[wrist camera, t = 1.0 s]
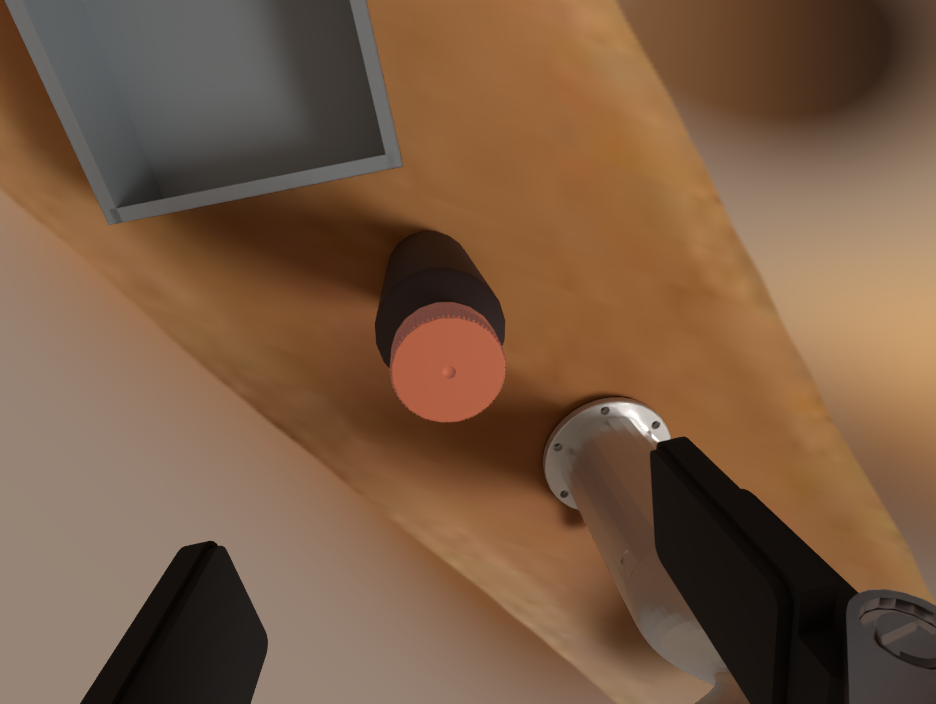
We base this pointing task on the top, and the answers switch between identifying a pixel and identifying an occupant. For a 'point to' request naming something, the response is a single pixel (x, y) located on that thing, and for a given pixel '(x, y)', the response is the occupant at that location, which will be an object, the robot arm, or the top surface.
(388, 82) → the top surface
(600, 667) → the top surface
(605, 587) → the top surface
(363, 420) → the top surface
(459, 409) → the vinegar
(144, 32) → the tote
